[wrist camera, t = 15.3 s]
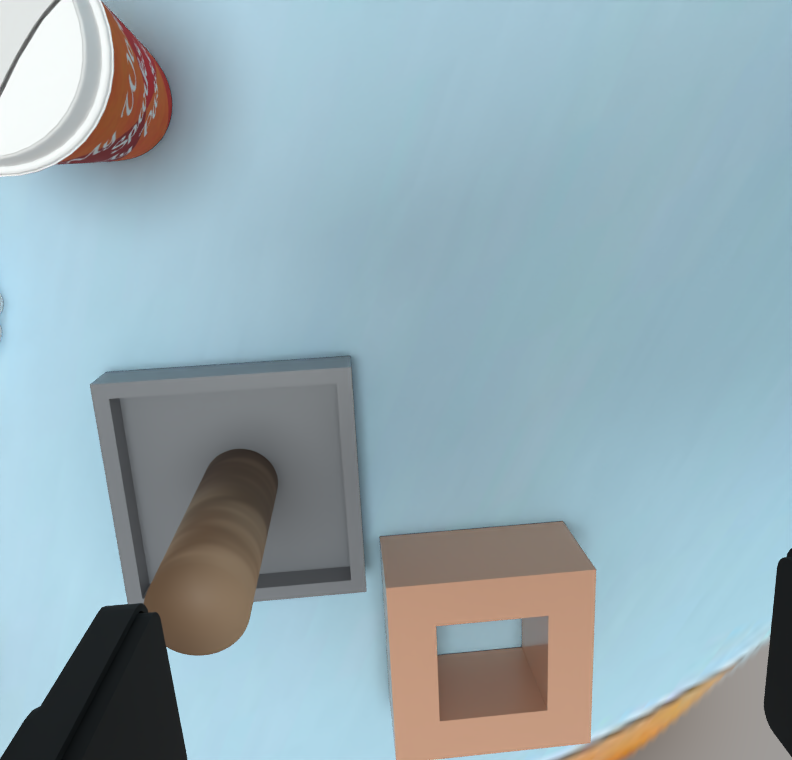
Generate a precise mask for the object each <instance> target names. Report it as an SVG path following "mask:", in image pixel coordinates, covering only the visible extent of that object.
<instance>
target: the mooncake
mask: <svg viewBox="0 0 792 760" xmlns="http://www.w3.org/2000/svg"><path fill="white" fill-rule="evenodd" d="M2 309H3V298H2V296H1V294H0V313H1V312H2ZM1 337H2V329H1V326H0V340H1Z"/></svg>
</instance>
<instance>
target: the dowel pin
mask: <svg viewBox="0 0 792 760" xmlns="http://www.w3.org/2000/svg"><path fill="white" fill-rule="evenodd" d="M277 489H278V478H277V474H276V471H275V469H274V467H273V466H272V464H271V463H270V462H269V461H268V460H267V459H266V458H265V457H264V456H262V455H261V454H259V453H257V452H255V451H252V450H248V449H233V450H229V451H226V452H223V453H222V454H220V455H218V456H217V457H216V458H215V459H214V460H213V461H212V462H211V463H210V464H209V466H208V468H207V470H206V472H205V474H204V476H203V478H202V480H201V482H200V484H199V486H198V488H197V490H196V492H195V494H194V496H193V498H192V500H191V503H190V505H189V507H188V509H187V511H186V513H185V515H184V517H183V519H182V521H181V523H180V525H179V527H178V529H177V531H176V533H175V535H174V537H173V539H172V541H171V544H170V546H169V548H168V550H167V552H166V554H165V556H164V558H163V560H162V562H161V564H160V566H159V568H158V570H157V572H156V574H155V576H154V578H153V580H152V582H151V584H150V587H149V589H148V591H147V593H146V596H145V599H144V605H145V606H146V607H147V609H148V613H150V612H157V613H158V614H159V616H160V619H161V623H162V628H163V633H164V639H165V644H166V647H168V648H170V649H172V650H174V651H176V652H179V653H183V654H187V655H209V654H213V653H217V652H220V651H222V650H224V649H226V648H228V647H230V646H231V645H232V644H234V643H235V642H236V641H237V640H238V639H239V638H240V637H241V636H242V634H243V633H244V631H245V630H246V627H247V625H248V622H249V619H250V614H251V610H252V605H253V600H254V596H255V591H256V586H257V582H258V577H259V572H260V568H261V563H262V559H263V554H264V549H265V545H266V540H267V535H268V531H269V526H270V522H271V517H272V512H273V508H274V503H275V498H276V494H277Z"/></svg>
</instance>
